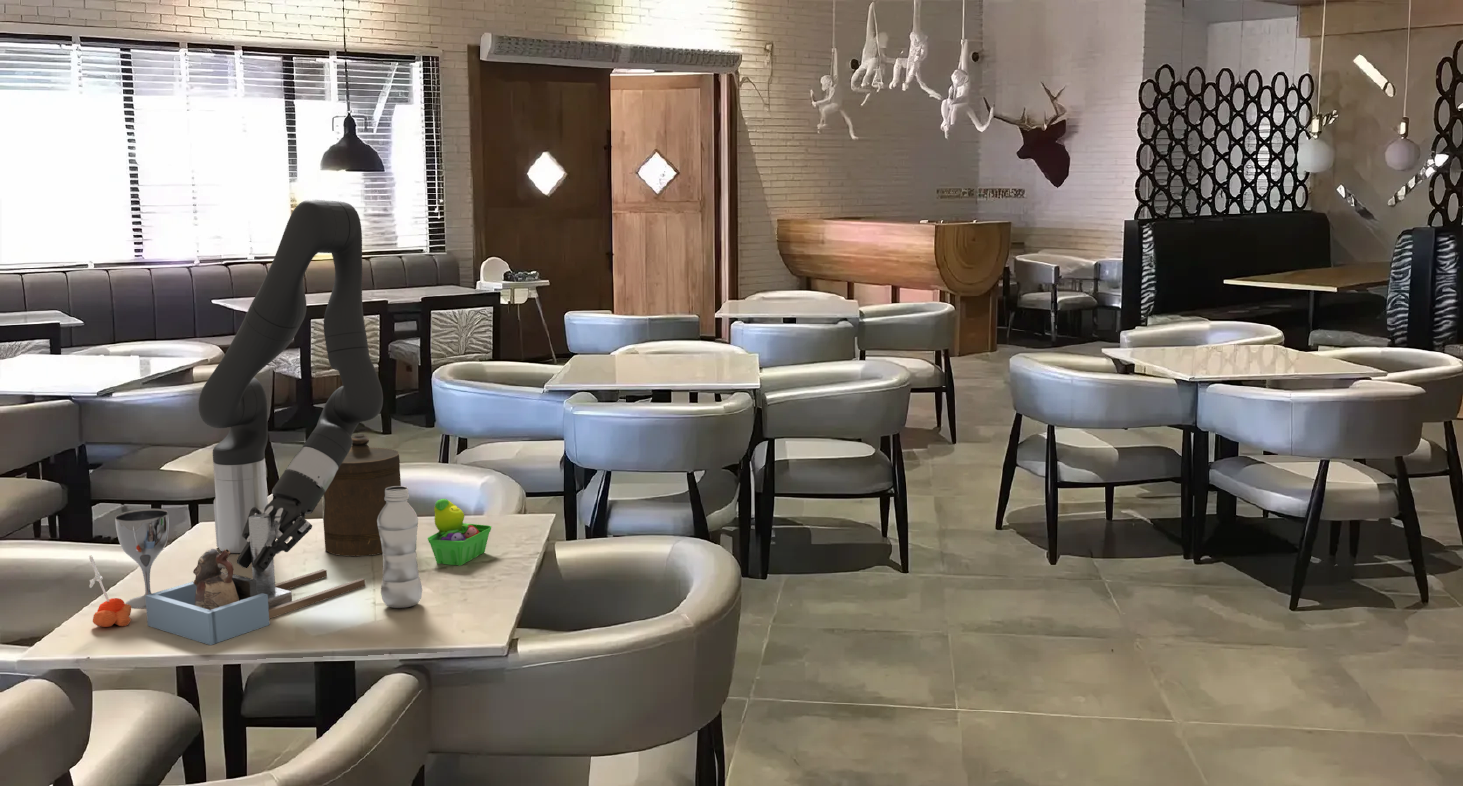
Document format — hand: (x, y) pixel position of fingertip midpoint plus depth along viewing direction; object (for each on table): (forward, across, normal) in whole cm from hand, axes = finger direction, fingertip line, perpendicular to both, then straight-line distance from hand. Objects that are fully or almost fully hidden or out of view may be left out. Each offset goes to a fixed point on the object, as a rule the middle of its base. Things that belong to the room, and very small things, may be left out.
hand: (249, 567), depth 202 cm
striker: (+4, 0, +7) cm, 8 cm away
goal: (+11, 0, 0) cm, 11 cm away
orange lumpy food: (+17, -13, -6) cm, 23 cm away
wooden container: (-20, -14, +31) cm, 39 cm away
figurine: (+10, 0, +1) cm, 10 cm away
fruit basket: (-23, +7, +34) cm, 41 cm away
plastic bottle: (-5, +19, +16) cm, 25 cm away
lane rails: (0, 0, +11) cm, 11 cm away
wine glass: (+10, -19, +1) cm, 21 cm away
